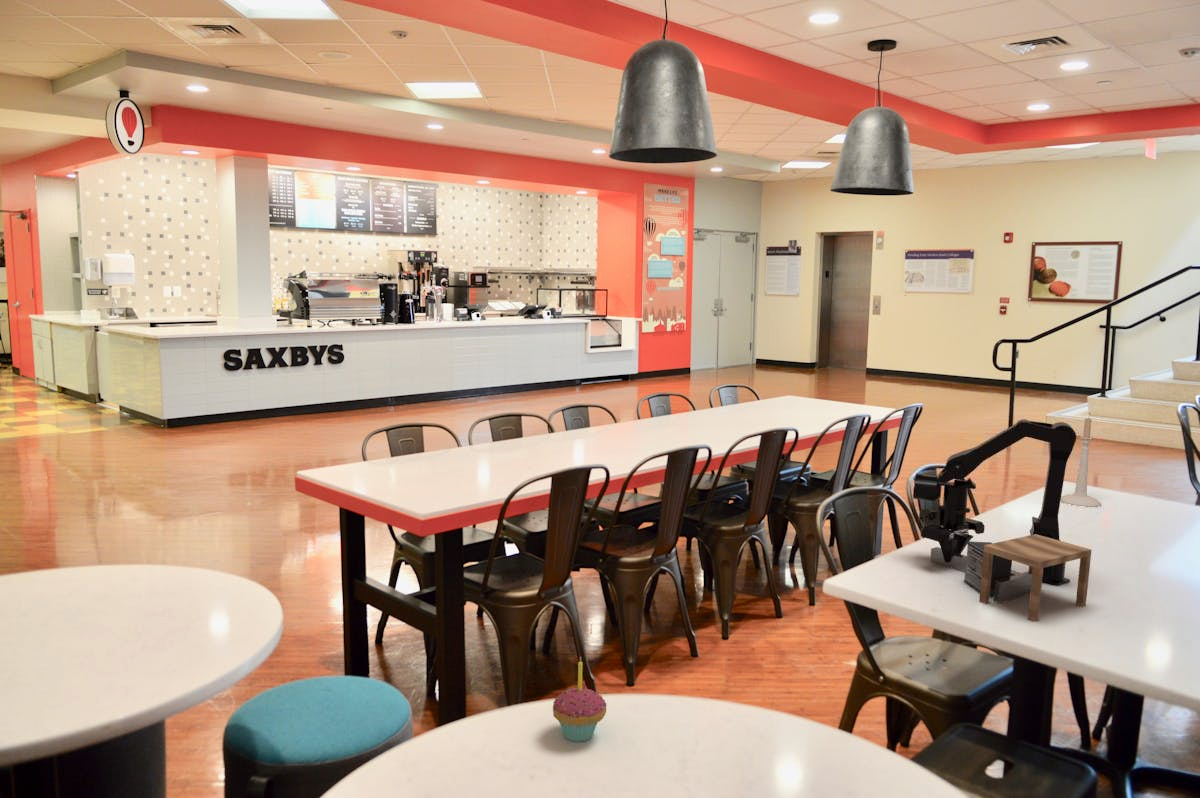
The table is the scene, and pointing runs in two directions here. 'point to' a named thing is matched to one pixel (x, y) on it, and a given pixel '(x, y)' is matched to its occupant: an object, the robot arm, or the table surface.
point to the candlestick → (1082, 475)
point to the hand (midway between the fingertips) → (950, 561)
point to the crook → (1004, 587)
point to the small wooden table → (1036, 565)
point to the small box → (974, 566)
